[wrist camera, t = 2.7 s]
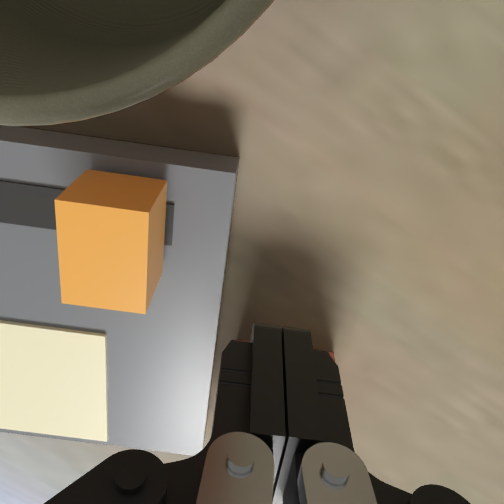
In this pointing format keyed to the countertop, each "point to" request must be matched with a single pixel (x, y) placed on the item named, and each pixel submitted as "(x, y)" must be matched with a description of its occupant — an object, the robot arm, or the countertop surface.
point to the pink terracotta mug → (106, 52)
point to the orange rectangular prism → (111, 240)
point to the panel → (104, 320)
